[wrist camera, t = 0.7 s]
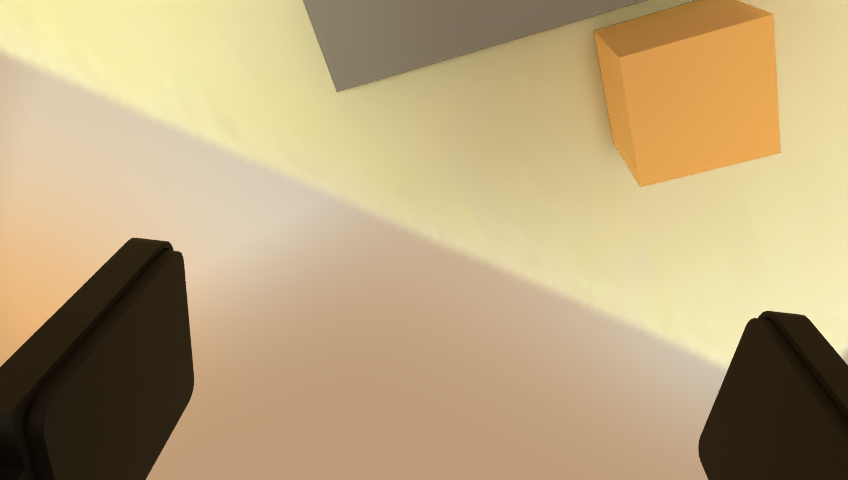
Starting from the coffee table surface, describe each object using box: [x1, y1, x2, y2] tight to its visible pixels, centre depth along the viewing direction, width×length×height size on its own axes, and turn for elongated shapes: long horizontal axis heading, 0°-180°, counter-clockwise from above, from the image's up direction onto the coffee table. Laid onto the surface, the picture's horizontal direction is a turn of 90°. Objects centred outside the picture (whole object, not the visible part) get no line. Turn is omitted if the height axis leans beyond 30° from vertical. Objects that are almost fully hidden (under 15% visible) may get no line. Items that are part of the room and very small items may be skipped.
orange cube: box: [594, 0, 781, 187], centre depth 30 cm, size 6×6×6 cm
